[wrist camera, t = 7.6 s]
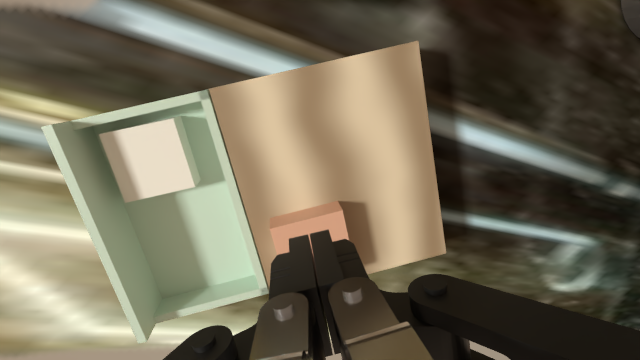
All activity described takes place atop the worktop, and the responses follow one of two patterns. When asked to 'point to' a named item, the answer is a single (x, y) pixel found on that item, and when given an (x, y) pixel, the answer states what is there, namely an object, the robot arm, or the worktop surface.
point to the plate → (339, 152)
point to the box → (163, 218)
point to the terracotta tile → (308, 225)
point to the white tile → (151, 158)
